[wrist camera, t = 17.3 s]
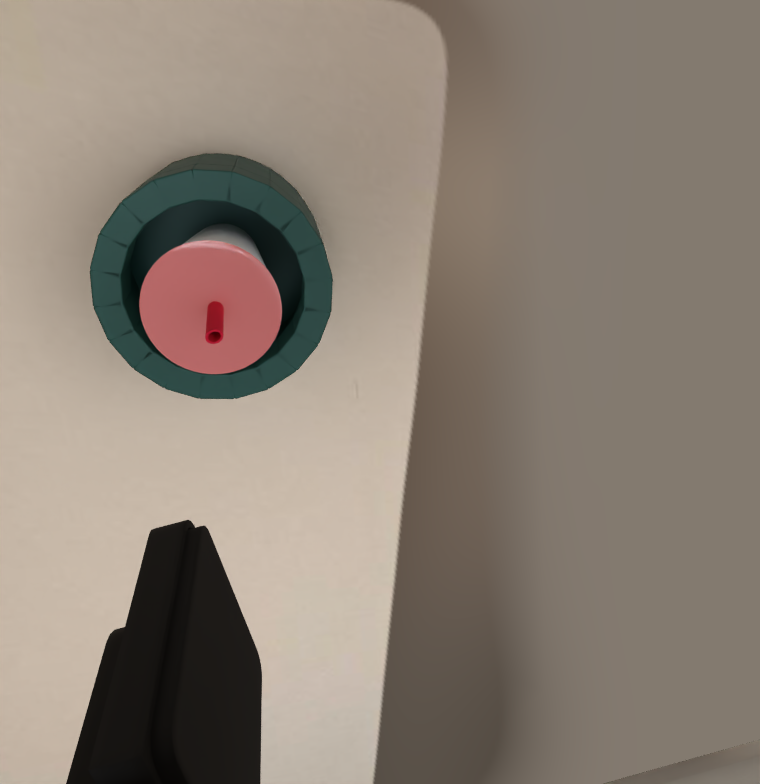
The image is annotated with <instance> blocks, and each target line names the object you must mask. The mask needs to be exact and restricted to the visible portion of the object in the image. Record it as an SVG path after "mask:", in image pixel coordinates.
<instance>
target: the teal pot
mask: <svg viewBox="0 0 760 784" xmlns="http://www.w3.org/2000/svg"><path fill="white" fill-rule="evenodd" d="M214 224H230V225H234V226H236V227H239V228H240V229H242V230H244V231H245V232H246V233H247V234H248V235H249V236H250V237H251V238H252V240H253V241H254V243H255V245H256V247H257V249H258V251H259V253H260V255H261V257H262V260H263V262H264V264H265V267H266V268H267V270H268V271H269V272H270V274H271V275H272V277H273V279H274V281H275V283H276V285H277V287H278V290H279V293H280V297H281V303H282V318H281V324H280V328H279V331H278V334H277V336H276V338H275V340H274V342H273V343H272V345H271V346H270V348H269V349H268V350H267V351H266V352H265V354H264V355H263V356H261V357H260V358H259V359H258V360H257V361H255V362H254V363H252V364H251V365H249V366H247V367H245V368H243V369H240V370H237V371H234V372H230V373H224V374H204V373H198V372H194V371H191V370H188V369H185V368H183V367H181V366H179V365H177V364H175V363H173V362H172V361H170V360H169V359H168V358H166V357H165V356H164V355H163V354H162V353H161V352H160V351H159V350H158V349H157V348H156V347H155V346H154V344H153V343H152V342H151V340H150V339H149V337H148V335H147V333H146V331H145V329H144V326H143V324H142V320H141V316H140V307H139V300H140V292H141V288H142V285H143V282H144V279H145V277H146V275H147V273H148V272H149V270H150V269H151V267H152V266H153V265H154V263H155V262H156V261H157V260H158V259H159V258H160V257H162V256H163V255H164V254H165V253H167V252H168V251H170V250H172V249H173V248H175V247H177V246H180V245H182V244H184V243H185V242H186V241H187V240H189V239H190V238H191V237H193V236H194V235H195V234H197V233H198V232H200V231H201V230H203V229H204V228H206V227H208V226H211V225H214ZM90 278H91V289H92V299H93V306H94V310H95V312H96V314H97V316H98V319H99V321H100V323H101V325H102V328H103V330H104V332H105V334H106V337H107V339H108V340H110V343H111V344H112V345H113V346H114V348H115V349H116V350H117V351H118V352H119V353H120V354H121V356H122V357H123V358H124V359H125V360H126V361H127V362H128V364H129V365H130V366H131V367H132V368H134V369H135V370H136V371H137V372H139V373H141V374H142V375H144V376H145V377H147V378H149V379H150V380H152V381H153V382H155V383H156V384H158V385H160V386H161V387H163V388H165V389H168V390H171V391H174V392H178V393H181V394H185V395H188V396H192V397H195V398H200V399H234V398H235V399H237V398H240V397H244V396H247V395H251V394H254V393H257V392H261V391H264V390H267V389H268V388H271V387H273V386H274V385H276V384H277V383H279V382H280V381H282V380H283V379H285V378H286V377H288V376H290V375H291V374H293V373H294V372H296V370H298V369H299V368H300V367H301V365H302V364H303V363H304V362H305V360H306V359H307V358H308V357H309V356H310V354H311V353H312V352H313V351H314V350H315V348H316V347H317V346H318V344H319V342H320V340H321V337H322V335H323V332H324V330H325V327H326V324H327V322H328V319H329V317H330V312H331V304H332V282H333V279H332V273H331V270H330V266H329V263H328V259H327V256H326V252H325V249H324V245H323V242H322V239H321V236H320V233H319V231H318V228H317V225H316V222H315V219H314V217H313V214H312V213H311V211H310V210H309V208H308V207H307V205H306V203H305V202H304V200H303V199H302V198H301V196H300V195H299V193H298V192H297V190H296V189H295V188H294V187H293V186H291V184H289V183H288V182H287V181H286V180H285V179H284V178H283V177H281V176H280V175H279V174H277V173H276V172H274V171H273V170H272V169H270V168H269V167H266V166H264V165H262V164H260V163H258V162H256V161H253V160H250V159H247V158H245V157H241V156H237V155H231V154H217V153H216V154H201V155H197V156H192V157H188V158H185V159H183V160H180V161H176V162H173V163H171V164H170V165H168V166H167V167H165V168H164V169H163V170H161V171H160V172H158V173H157V174H155V175H154V176H153V177H151V178H150V179H148V180H147V181H146V182H144V183H143V184H142V185H141V186H140V187H138V188H137V189H136V190H135V191H133V192H132V193H131V194H130V195H129V196H127V197H126V198H125V199H124V200H123V201H122V202H121V203H120V204H119V205H118V207H117V208H116V210H115V211H114V212H113V214H112V215H111V217H110V218H109V220H108V221H107V222H106V224H105V225H104V227H103V228H102V230H101V231H100V234H99V235H98V239H97V243H96V247H95V251H94V255H93V258H92V262H91V266H90Z"/></svg>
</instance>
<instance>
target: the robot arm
mask: <svg viewBox="0 0 760 784" xmlns="http://www.w3.org/2000/svg"><path fill="white" fill-rule="evenodd" d="M261 697H262V671H261V664H260V659H259V655H258V652H257V649H256V646H255V644H254V641H253V639H252V636H251V634H250V632H249V629H248V627H247V624H246V622H245V619H244V617H243V614H242V612H241V609H240V607H239V604H238V602H237V599H236V597H235V594H234V592H233V590H232V587H231V585H230V582H229V580H228V577H227V575H226V572H225V570H224V567H223V565H222V562H221V560H220V557H219V555H218V553H217V550H216V548H215V545H214V543H213V540H212V538H211V535H210V533H209V531H208V529H207V528H206V526H200V527H197V528H195V526H194V525H193V523H192V522H191V521H189V520H186V521H182V522H178V523H174V524H170V525H167V526H163V527H159V528H155V529H153V530H151V532H150V534H149V537H148V541H147V545H146V549H145V552H144V556H143V560H142V564H141V568H140V572H139V576H138V580H137V583H136V587H135V591H134V595H133V599H132V603H131V607H130V610H129V614H128V618H127V622H126V626H125V627H123V628H120V629H116V630H114V631H113V632H112V633H111V634H110V636H109V638H108V640H107V643H106V646H105V649H104V653H103V656H102V660H101V663H100V667H99V670H98V674H97V677H96V681H95V684H94V688H93V691H92V695H91V698H90V702H89V705H88V709H87V713H86V716H85V720H84V723H83V727H82V730H81V734H80V737H79V741H78V744H77V748H76V751H75V755H74V758H73V762H72V765H71V769H70V772H69V776H68V779H67V783H66V784H260V762H261ZM604 784H760V740H757V741H753V742H749V743H746V744H742V745H739V746H736V747H732V748H728V749H725V750H721V751H718V752H714V753H710V754H707V755H703V756H700V757H696V758H693V759H689V760H686V761H682V762H678V763H675V764H672V765H668V766H664V767H661V768H657V769H654V770H650V771H646V772H643V773H639V774H636V775H632V776H629V777H625V778H622V779H618V780H615V781H611V782H608V783H604Z"/></svg>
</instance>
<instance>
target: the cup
mask: <svg viewBox="0 0 760 784" xmlns="http://www.w3.org/2000/svg"><path fill="white" fill-rule="evenodd" d="M139 307H140V316H141V320H142V324H143V326H144V329H145V331H146V333H147V335H148V337H149V339H150V340H151V342H152V343H153V344H154V346H155V347H156V348H157V349H158V350H159V351H160V352H161V353H162V354H163V355H164V356H165V357H166V358H168V359H169V360H170V361H172V362H173V363H175V364H177V365H179V366H181V367H183V368H185V369H188V370H191V371H194V372H198V373H204V374H224V373H230V372H234V371H237V370H240V369H243V368H245V367H247V366H249V365H251V364H252V363H254V362H255V361H257V360H258V359H259V358H260V357H261V356H263V355H264V354H265V352H266V351H267V350H268V349H269V348H270V346H271V345H272V343H273V342H274V340H275V338H276V336H277V334H278V331H279V328H280V324H281V318H282V303H281V297H280V293H279V290H278V287H277V285H276V283H275V281H274V279H273V277H272V275H271V274H270V272H269V271H268V270H267V268H266V267H265V264H264V262H263V260H262V257H261V255H260V253H259V251H258V249H257V247H256V245H255V243H254V241H253V240H252V238H251V237H250V236H249V235H248V234H247V233H246V232H245V231H244V230H242V229H240V228H239V227H236V226H234V225H230V224H214V225H211V226H208V227H206V228H204V229H203V230H201V231H200V232H198V233H197V234H195V235H194V236H193V237H191V238H190V239H189V240H187V241H186V242H185V243H184V244H182V245H180V246H177V247H175V248H173V249H172V250H170V251H168V252H167V253H165V254H164V255H163V256H162V257H160V258H159V259H158V260H157V261H156V262H155V263H154V265H153V266H152V267H151V269H150V270H149V272H148V273H147V275H146V277H145V279H144V282H143V285H142V288H141V292H140V300H139Z"/></svg>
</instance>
